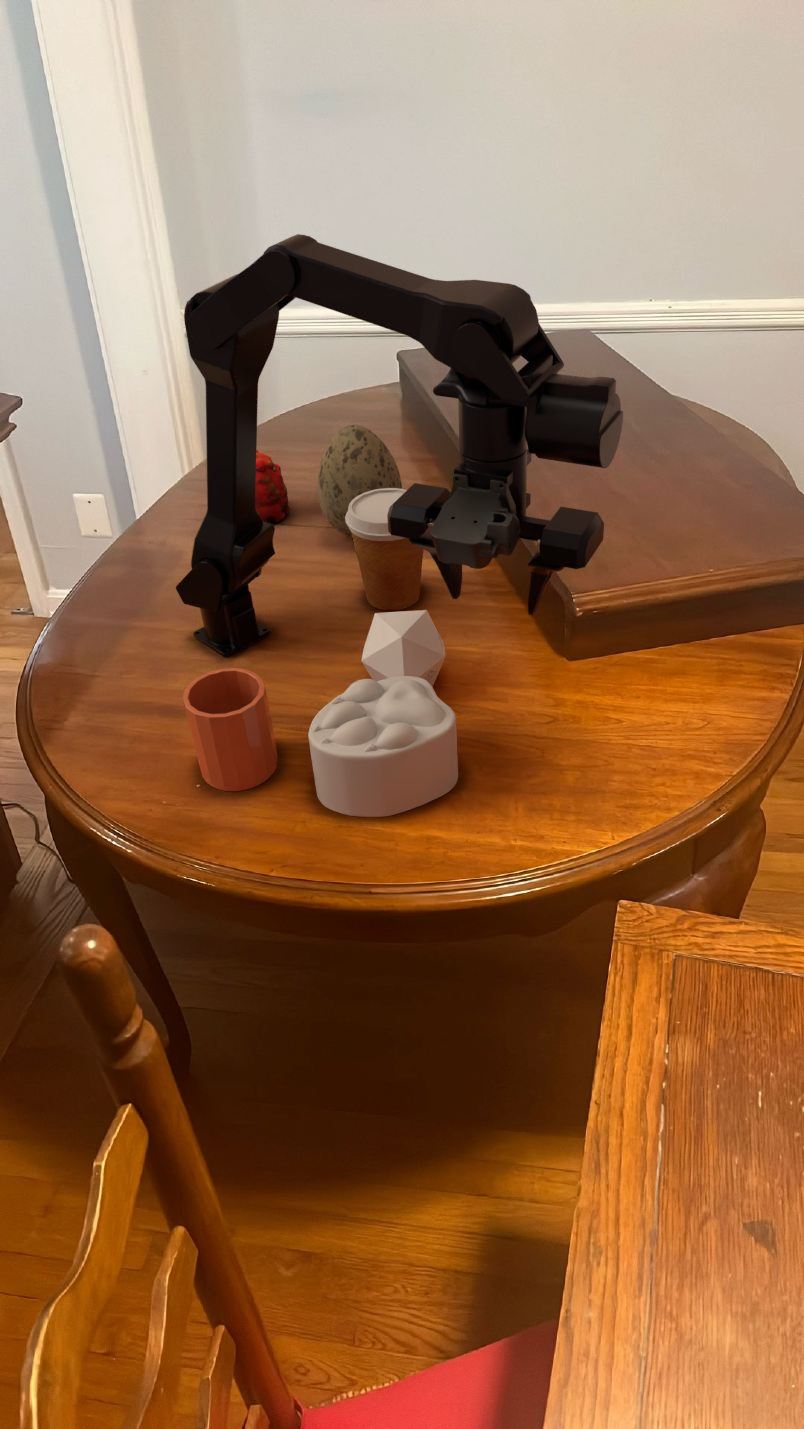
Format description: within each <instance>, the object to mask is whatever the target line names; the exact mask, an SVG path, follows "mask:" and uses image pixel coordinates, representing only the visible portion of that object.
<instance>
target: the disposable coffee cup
mask: <svg viewBox="0 0 804 1429" xmlns="http://www.w3.org/2000/svg"><path fill="white" fill-rule="evenodd" d="M407 490H408V489H404V488H402V489H399V488H383V489H376V490H372V491H368V492H365V493H363V494H361V495H359V496H357V497H355V498H354V499H353V500H352V501H351V502H350V504H349V507H348V512H347V513H346V516H345V520H346V524H347V526H348V527H349V529H350V531H351V533H352V537H353V538H352V540H353V543H354V550H355V554H356V557H357V561H358V562H357V563H358V566H359V570H360V574H361V579H362V583H363V587H364V592H365V595H366V600H367V602H368V604H369V605H370V606H372V607H373V608H377V609H378V610H383V611H399V610H404V609H406V608H409V607H411V606H413V605H414V604H416V603H417V602H418V601H419V598H420V593H421V581H422V569H423V558H424V549H423V548H421V547H419V546H415V545H412V544H411V543H410V541H409V538H405V537H399V536H394V535H391V534H390V533H389V531H388V519H387V515H388V511H389V508H390V506H391V505H392V504H393V503H394V502H395V501H396V500H397V499H398V498H399V497H400V496H401V495H402V494H404V493H405V492H406V491H407Z"/></svg>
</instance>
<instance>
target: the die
mask: <svg viewBox="0 0 804 1429" xmlns="http://www.w3.org/2000/svg"><path fill="white" fill-rule="evenodd" d="M439 633H440V632H439V631H438V629H437V627H436V626H435V623H434V622H433V620H432V618H431V616H430V614H429V612H428V610H427V609H421V610H405V611H404V610H403V611H402V610H401V611H389V612H375V613H374V615H373V618H372V621H371V625H370V628H369V630H368V634H367V637H366V639H365V642H364V647H363V650H362V653H361V659H360V661H361V663H362V665H363V667H364V668H365V670H366V671H367V673H368V675H369V676H370V677H371V678H370V679H373V680H375V681H380V680H383V679H387V678H391V677H397V676H413V677H419V678H422V679H424V680H426V681H428V682H429V683H430V684H431V686H432V687H433V688H434V685H435V682H436V680H437V678H438V676H439V673H440V670H441V668H442V665H443V663H444V661H445V660H446V659H445V658H446V649H445V643H444V641H443V639H442V637H441V635H440V634H439Z"/></svg>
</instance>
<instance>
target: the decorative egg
mask: <svg viewBox="0 0 804 1429" xmlns="http://www.w3.org/2000/svg"><path fill="white" fill-rule="evenodd" d="M398 467H399V466H398V465H397V462H396V460H395V458H394V456H393V455H392V453H391V451H390V449H389V448H388V446H387V445H386V444H385V443H384V441H383V440H382V439H381V437H379V436H378V435H377V434H376V433H375V432H374V431H372V430H371V429H369V428H367V427H365V426H364V425H360V424H348V425H346V426H343V427H342V428H341V429H339V430H338V431H337V432H336V433H335V434H334V435H333V437H332V438H331V439H330V440H329V443H328V444H327V446H326V448H325V450H324V452H323V455H322V458H321V461H320V466H319V470H318V475H317V476H318V477H317V496H318V502H319V505H320V508H321V511H322V513H323V515H324V517H325V519H326V521H328V523H329V524H330V525H331V526H332V527H333V529H335V530H336V531H337V532H339V533H340V534H342V535H343V536H345V537H348V538H350V539H353V537H352V533H351V531H350V529H349V527H348V526H347V524H346V520H345V516H346V513H347V512H348V507H349V504H350V502H351V501H352V500H353V499H354V498H355V497H357V496H359V495H361V494H363V493H365V492H368V491H372V490H376V489H383V488H399V489H403V484H402V477H401V474H400V470H399V468H398Z"/></svg>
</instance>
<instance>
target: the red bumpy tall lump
mask: <svg viewBox="0 0 804 1429" xmlns="http://www.w3.org/2000/svg"><path fill="white" fill-rule="evenodd" d="M281 469H282V468H281V466H280V464H278V463H274V462H273V460H272V457H271V456H270V455H269V454H267V453H265V452H259V450H258V449H256V486H255V509H256V511H257V512H258V514H259V515H260V517H261V518H262V520H263V521H264V522H265V523H270V524H271V523H272V521H274V522H278V523H279V522H280V521H283V520H284V519H285V518H286V515H288V513H289V512H290V507H289V496H288V488H287V486H286V483H285V482H284V477H283V475H282V470H281Z"/></svg>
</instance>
